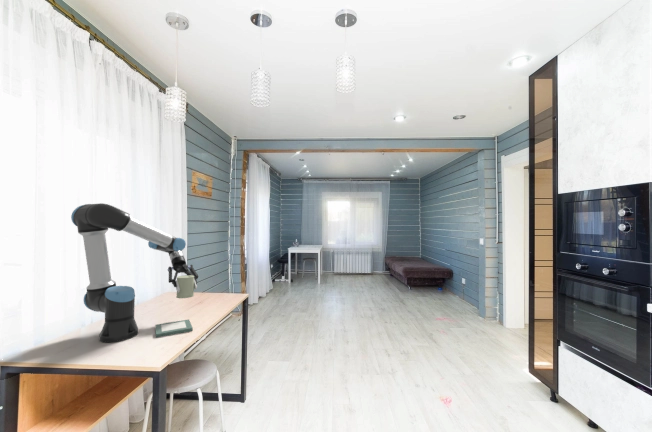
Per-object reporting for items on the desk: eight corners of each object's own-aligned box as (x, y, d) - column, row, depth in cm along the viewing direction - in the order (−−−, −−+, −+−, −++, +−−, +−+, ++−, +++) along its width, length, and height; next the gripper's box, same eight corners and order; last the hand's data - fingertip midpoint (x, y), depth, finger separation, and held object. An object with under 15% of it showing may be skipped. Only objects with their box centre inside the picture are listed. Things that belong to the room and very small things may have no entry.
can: (189, 298, 162) (189, 277, 163) (173, 298, 162) (173, 277, 163) (196, 294, 171) (197, 274, 172) (181, 294, 171) (181, 274, 172)
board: (155, 337, 137) (155, 334, 137) (155, 327, 151) (155, 324, 151) (192, 331, 145) (192, 327, 145) (189, 322, 159) (189, 319, 159)
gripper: (193, 262, 186) (204, 290, 174) (156, 265, 170) (165, 297, 159) (197, 254, 182) (208, 283, 171) (159, 257, 167) (169, 288, 155)
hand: (187, 289), depth 165 cm, fingers closed on can, 9 cm apart
